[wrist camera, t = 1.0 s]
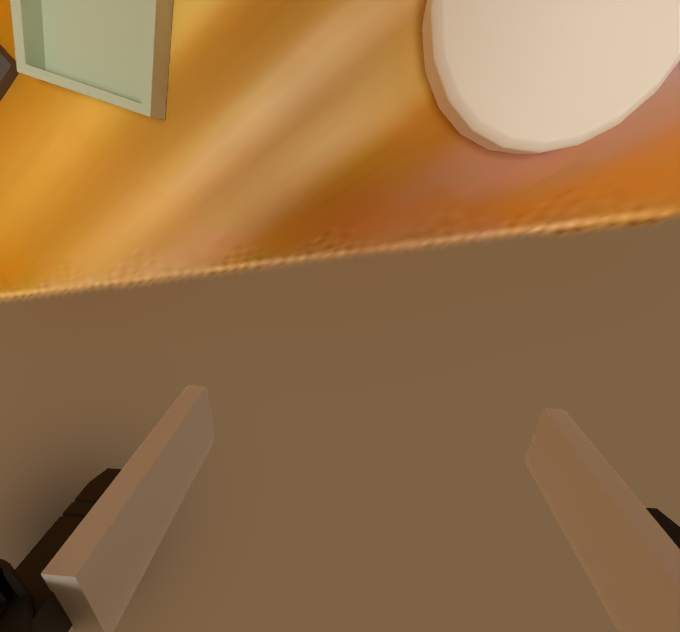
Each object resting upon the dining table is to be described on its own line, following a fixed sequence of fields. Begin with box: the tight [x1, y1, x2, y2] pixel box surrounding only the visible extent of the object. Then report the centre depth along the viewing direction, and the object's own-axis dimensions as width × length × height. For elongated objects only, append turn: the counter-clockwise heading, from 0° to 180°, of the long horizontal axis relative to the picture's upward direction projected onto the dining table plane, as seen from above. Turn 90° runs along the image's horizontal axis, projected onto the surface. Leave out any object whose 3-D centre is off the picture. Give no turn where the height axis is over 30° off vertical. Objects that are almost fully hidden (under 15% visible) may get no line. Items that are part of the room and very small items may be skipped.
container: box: [422, 0, 680, 154], centre depth 25 cm, size 20×20×5 cm
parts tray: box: [10, 0, 173, 120], centre depth 27 cm, size 14×12×2 cm
